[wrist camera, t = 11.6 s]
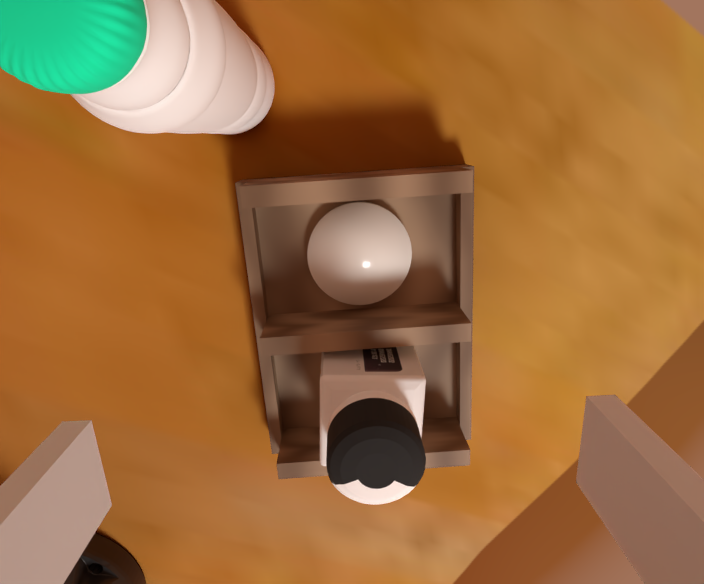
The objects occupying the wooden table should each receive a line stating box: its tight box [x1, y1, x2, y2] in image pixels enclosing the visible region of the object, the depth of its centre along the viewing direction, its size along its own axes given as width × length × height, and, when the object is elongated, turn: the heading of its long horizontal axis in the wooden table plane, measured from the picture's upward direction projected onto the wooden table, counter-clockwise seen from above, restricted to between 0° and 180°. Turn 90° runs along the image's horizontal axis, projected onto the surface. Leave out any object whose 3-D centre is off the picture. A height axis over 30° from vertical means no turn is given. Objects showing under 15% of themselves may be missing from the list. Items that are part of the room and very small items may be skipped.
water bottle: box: [0, 0, 274, 134], centre depth 25 cm, size 7×7×25 cm
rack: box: [235, 164, 474, 479], centre depth 40 cm, size 18×24×6 cm
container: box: [320, 346, 426, 504], centre depth 37 cm, size 8×8×13 cm
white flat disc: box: [307, 201, 412, 305], centre depth 40 cm, size 8×8×1 cm
